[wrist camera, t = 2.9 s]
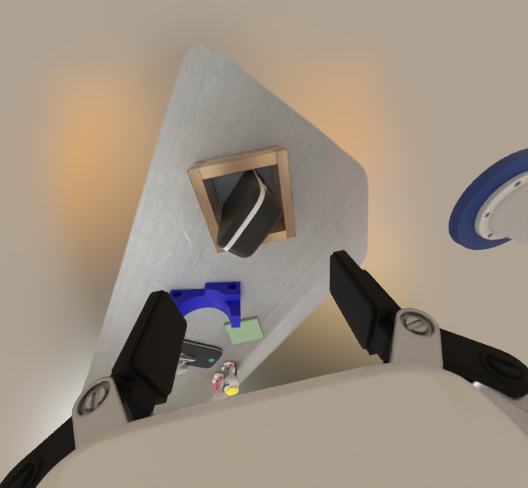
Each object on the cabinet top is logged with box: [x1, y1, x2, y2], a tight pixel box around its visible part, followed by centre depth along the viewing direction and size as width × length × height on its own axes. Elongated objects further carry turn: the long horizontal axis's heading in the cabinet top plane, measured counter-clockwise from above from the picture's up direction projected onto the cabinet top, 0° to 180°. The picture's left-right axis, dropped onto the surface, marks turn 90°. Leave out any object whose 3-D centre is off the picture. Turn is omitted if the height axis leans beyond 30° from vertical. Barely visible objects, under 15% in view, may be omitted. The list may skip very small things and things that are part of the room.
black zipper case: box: [217, 169, 282, 258], centre depth 22 cm, size 7×4×11 cm, turn 144°
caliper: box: [176, 353, 195, 375], centre depth 47 cm, size 29×2×5 cm
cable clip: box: [169, 282, 241, 328], centre depth 32 cm, size 12×4×6 cm, turn 86°
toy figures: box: [212, 361, 239, 401], centre depth 46 cm, size 12×4×8 cm, turn 150°
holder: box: [187, 145, 296, 253], centre depth 24 cm, size 10×10×5 cm
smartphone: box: [179, 340, 222, 368], centre depth 43 cm, size 8×1×15 cm
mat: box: [224, 317, 263, 344], centre depth 42 cm, size 7×7×1 cm
